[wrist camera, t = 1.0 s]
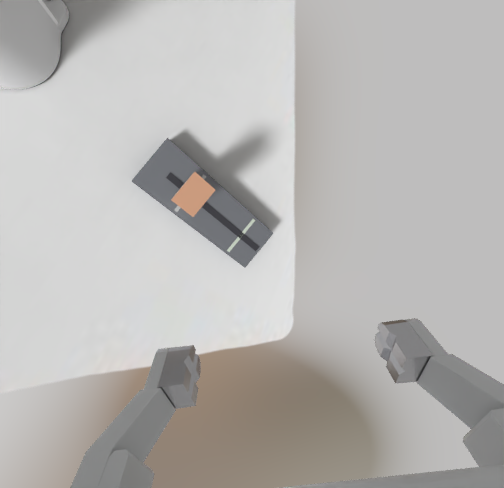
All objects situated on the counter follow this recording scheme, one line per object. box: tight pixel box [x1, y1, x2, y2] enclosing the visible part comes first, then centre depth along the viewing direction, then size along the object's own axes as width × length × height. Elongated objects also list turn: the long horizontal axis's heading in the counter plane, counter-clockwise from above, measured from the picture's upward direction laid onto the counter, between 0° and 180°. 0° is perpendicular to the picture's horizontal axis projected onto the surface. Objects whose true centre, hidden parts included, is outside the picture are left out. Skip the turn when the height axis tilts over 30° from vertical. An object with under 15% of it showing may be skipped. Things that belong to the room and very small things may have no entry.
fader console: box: [132, 138, 273, 267], centre depth 42 cm, size 25×9×3 cm, turn 48°
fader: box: [171, 172, 215, 217], centre depth 34 cm, size 4×5×10 cm
